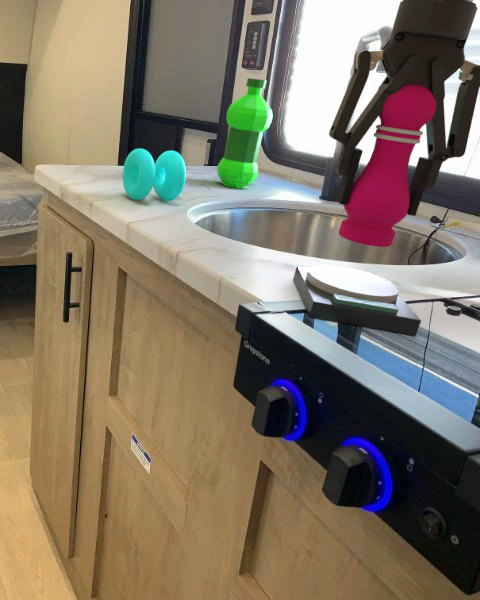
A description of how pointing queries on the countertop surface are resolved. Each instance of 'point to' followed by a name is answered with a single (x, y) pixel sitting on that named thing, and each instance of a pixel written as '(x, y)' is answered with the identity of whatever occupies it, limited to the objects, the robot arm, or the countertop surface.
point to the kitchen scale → (354, 298)
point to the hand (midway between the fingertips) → (374, 207)
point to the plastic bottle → (245, 136)
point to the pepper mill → (388, 169)
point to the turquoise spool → (154, 175)
